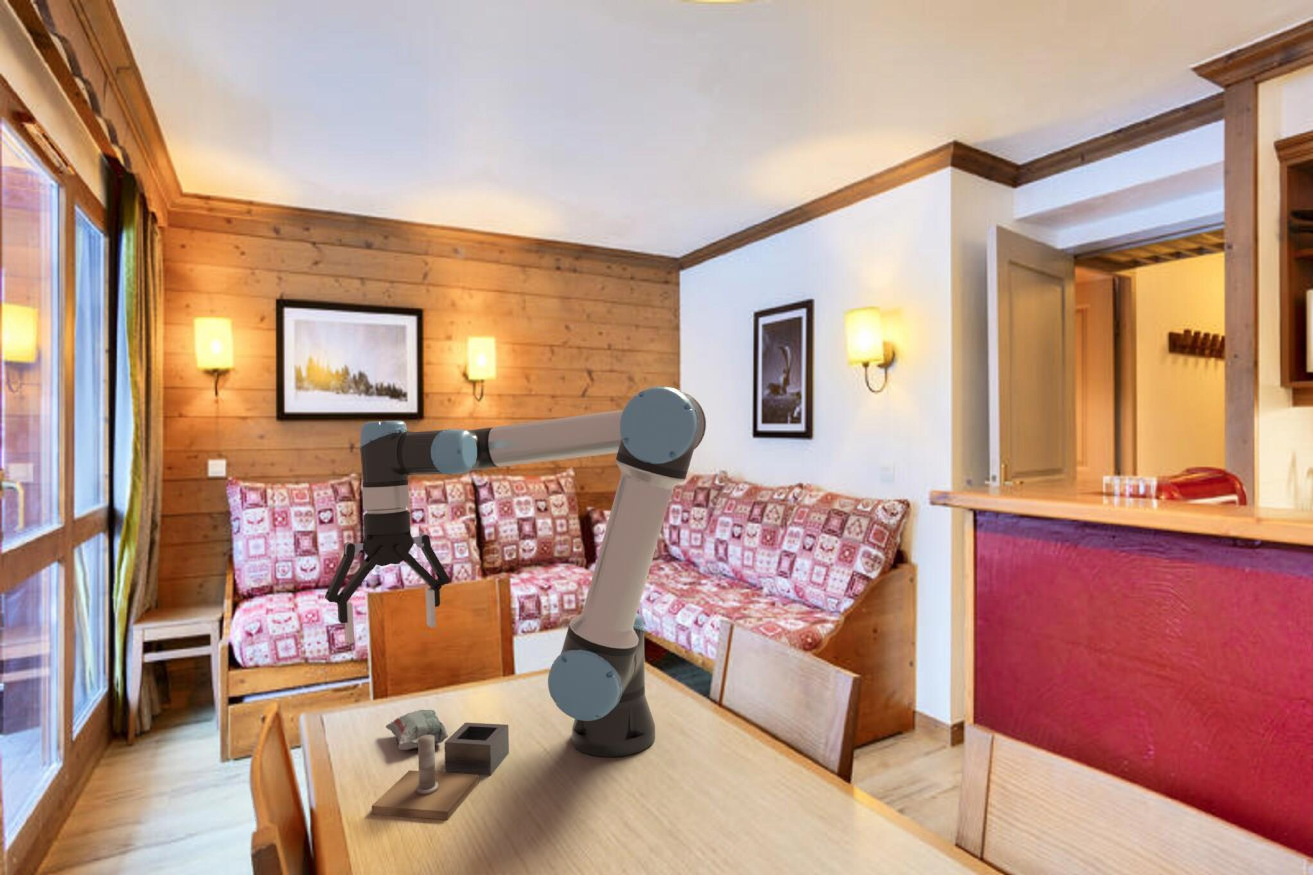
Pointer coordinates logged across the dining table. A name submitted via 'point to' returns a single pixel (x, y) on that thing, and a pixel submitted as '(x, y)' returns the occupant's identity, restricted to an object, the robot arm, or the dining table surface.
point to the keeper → (426, 789)
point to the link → (476, 748)
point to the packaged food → (417, 728)
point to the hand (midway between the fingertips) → (391, 633)
